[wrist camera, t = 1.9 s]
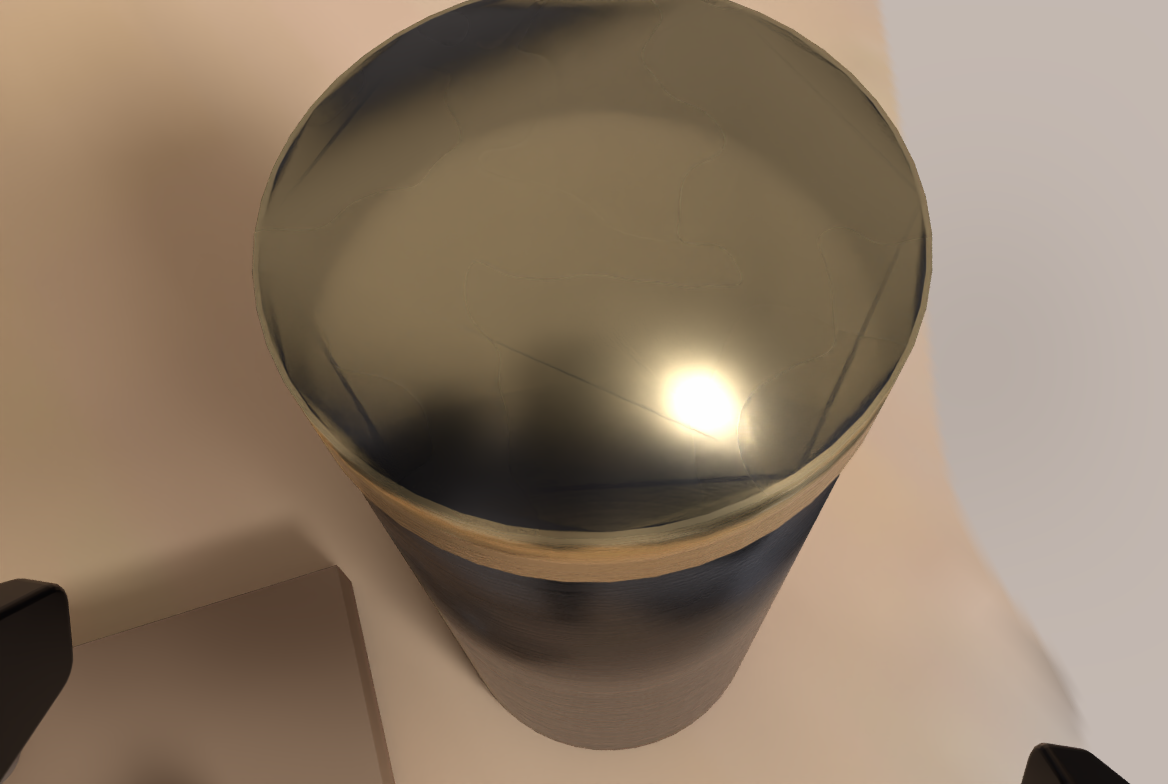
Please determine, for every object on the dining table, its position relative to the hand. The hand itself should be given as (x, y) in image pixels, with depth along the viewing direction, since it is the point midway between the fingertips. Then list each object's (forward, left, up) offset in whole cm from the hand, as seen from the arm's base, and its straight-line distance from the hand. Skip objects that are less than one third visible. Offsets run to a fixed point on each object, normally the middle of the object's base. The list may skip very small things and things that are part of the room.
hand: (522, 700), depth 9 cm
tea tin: (+4, -2, -11) cm, 12 cm away
